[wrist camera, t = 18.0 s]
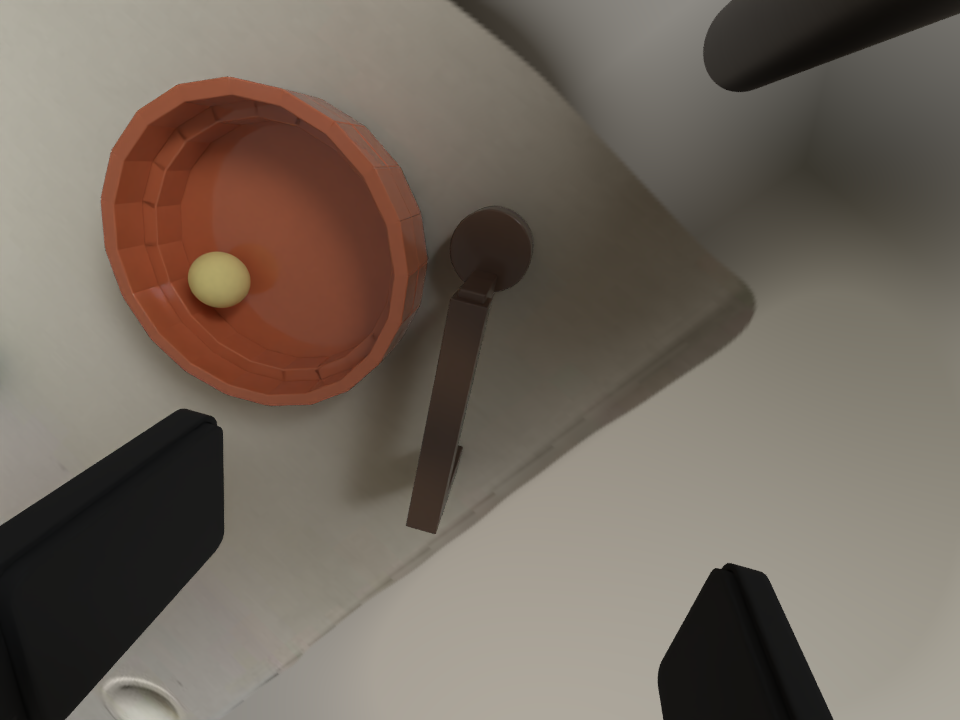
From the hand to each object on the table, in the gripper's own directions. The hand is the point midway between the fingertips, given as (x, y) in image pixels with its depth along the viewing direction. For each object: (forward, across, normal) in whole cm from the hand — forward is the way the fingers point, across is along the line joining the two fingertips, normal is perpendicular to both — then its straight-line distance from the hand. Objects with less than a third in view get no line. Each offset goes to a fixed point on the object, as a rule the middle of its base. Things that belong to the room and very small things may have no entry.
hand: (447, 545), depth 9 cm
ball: (+17, +16, +3) cm, 23 cm away
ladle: (+19, +2, +4) cm, 19 cm away
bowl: (+19, +13, +1) cm, 23 cm away
